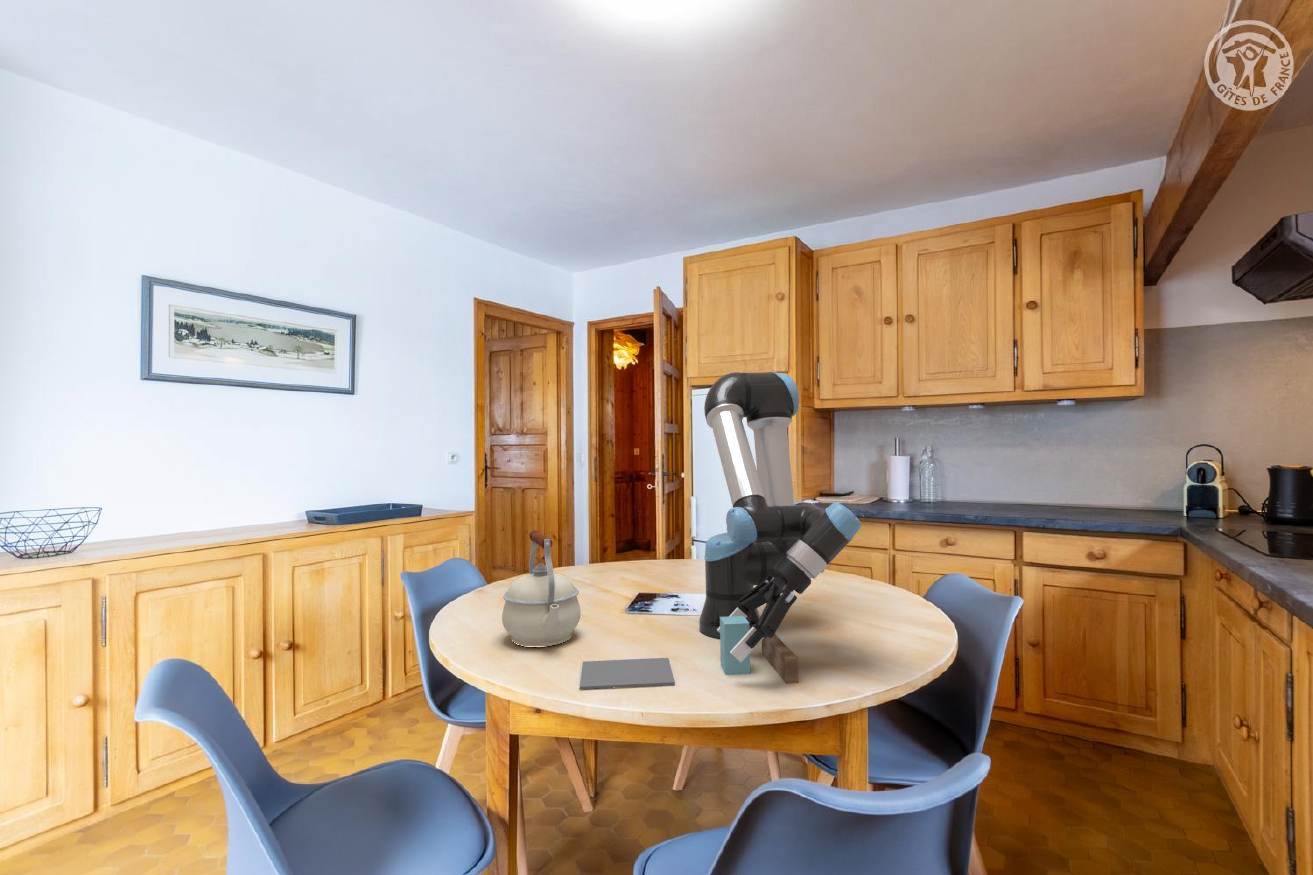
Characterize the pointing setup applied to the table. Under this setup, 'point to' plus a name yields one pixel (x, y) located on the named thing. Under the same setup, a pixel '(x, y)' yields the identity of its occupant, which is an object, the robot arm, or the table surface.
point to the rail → (781, 658)
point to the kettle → (541, 602)
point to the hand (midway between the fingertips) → (727, 645)
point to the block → (733, 644)
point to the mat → (626, 673)
